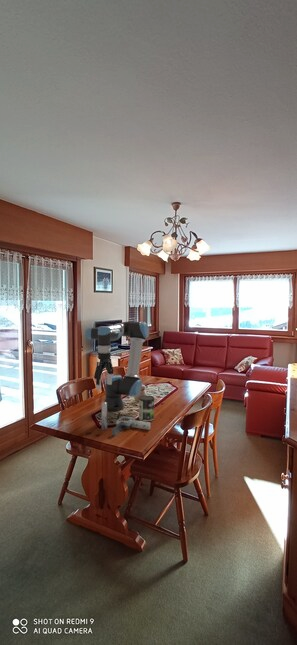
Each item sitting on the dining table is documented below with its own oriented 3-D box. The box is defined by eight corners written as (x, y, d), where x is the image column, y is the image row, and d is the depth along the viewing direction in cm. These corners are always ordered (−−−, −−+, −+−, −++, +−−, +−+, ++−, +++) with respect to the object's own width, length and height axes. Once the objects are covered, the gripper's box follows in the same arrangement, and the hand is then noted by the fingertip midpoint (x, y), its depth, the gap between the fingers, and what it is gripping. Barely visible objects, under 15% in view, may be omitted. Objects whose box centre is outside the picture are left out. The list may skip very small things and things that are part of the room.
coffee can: (157, 417, 206) (157, 396, 205) (148, 422, 198) (149, 400, 197) (144, 414, 212) (144, 394, 211) (135, 419, 203) (135, 398, 202)
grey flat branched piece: (107, 434, 179) (107, 428, 178) (122, 422, 198) (122, 415, 198) (139, 440, 172) (140, 433, 171) (152, 426, 191) (152, 420, 191)
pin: (100, 429, 187) (100, 403, 186) (103, 427, 190) (103, 401, 189) (105, 429, 185) (105, 403, 184) (107, 427, 188) (107, 402, 187)
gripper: (99, 355, 172) (99, 393, 173) (119, 349, 195) (118, 382, 196) (87, 354, 174) (87, 391, 175) (108, 349, 198) (108, 381, 199)
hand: (104, 387), depth 186 cm, fingers open, 13 cm apart
